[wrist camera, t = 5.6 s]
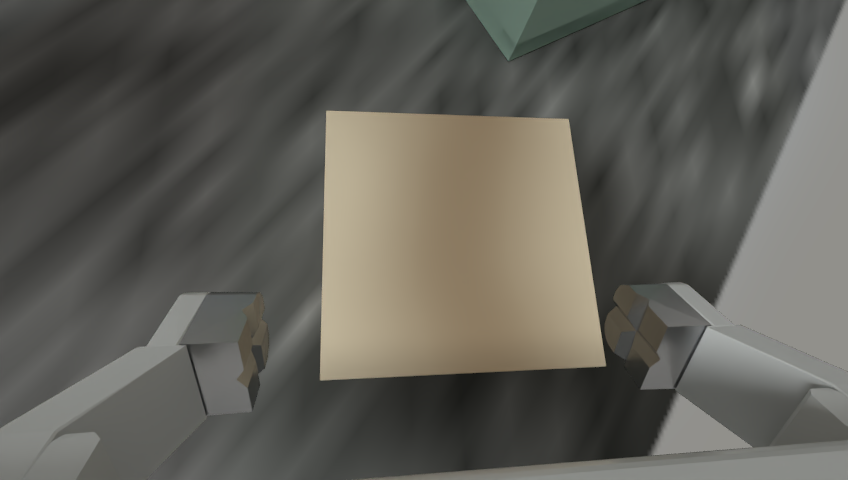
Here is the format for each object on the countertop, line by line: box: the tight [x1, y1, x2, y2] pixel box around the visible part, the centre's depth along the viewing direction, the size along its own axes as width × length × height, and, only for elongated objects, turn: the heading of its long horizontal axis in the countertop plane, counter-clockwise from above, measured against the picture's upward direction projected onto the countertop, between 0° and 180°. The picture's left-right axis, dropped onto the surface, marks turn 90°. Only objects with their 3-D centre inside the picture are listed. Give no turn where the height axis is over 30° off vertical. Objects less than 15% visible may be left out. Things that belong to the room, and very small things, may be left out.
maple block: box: [320, 111, 606, 380], centre depth 12 cm, size 5×5×8 cm
